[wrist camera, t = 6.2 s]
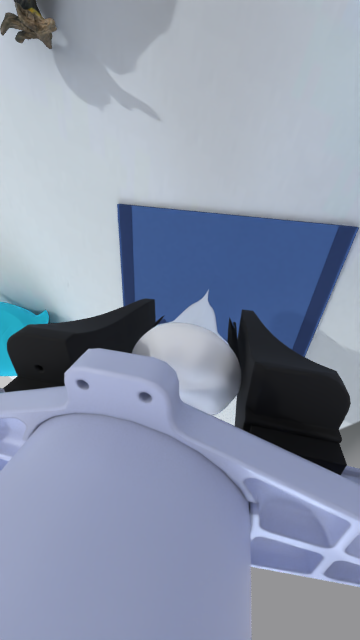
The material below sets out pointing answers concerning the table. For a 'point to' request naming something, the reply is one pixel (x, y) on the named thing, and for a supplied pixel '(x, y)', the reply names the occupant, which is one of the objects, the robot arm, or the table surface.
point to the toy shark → (14, 330)
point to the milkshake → (199, 344)
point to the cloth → (235, 263)
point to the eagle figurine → (29, 23)
